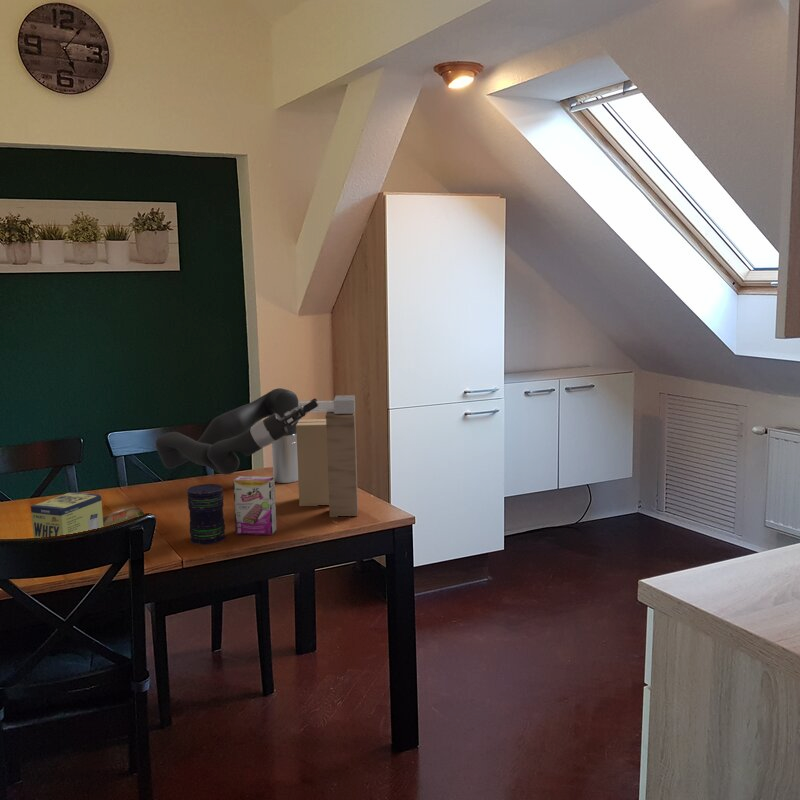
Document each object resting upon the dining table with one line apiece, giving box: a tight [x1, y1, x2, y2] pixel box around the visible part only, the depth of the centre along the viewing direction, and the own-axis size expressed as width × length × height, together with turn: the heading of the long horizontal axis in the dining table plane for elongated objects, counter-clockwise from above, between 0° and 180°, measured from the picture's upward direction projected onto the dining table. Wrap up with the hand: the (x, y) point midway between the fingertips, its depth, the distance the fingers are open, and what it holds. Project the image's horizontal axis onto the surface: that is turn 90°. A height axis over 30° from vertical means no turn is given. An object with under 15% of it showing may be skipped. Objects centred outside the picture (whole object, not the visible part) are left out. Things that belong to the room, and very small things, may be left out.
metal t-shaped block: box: [298, 394, 356, 414], centre depth 255 cm, size 10×17×4 cm, turn 91°
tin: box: [103, 506, 145, 526], centre depth 240 cm, size 15×3×8 cm, turn 148°
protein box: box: [30, 491, 104, 539], centre depth 226 cm, size 10×16×16 cm
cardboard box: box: [296, 418, 329, 507], centre depth 272 cm, size 10×12×27 cm
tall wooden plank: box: [325, 411, 359, 518], centre depth 258 cm, size 12×8×32 cm
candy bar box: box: [233, 475, 277, 536], centre depth 242 cm, size 11×5×16 cm, turn 84°
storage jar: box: [186, 483, 226, 546], centre depth 237 cm, size 10×10×15 cm
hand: (316, 402), depth 255 cm, fingers closed on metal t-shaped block, 3 cm apart
